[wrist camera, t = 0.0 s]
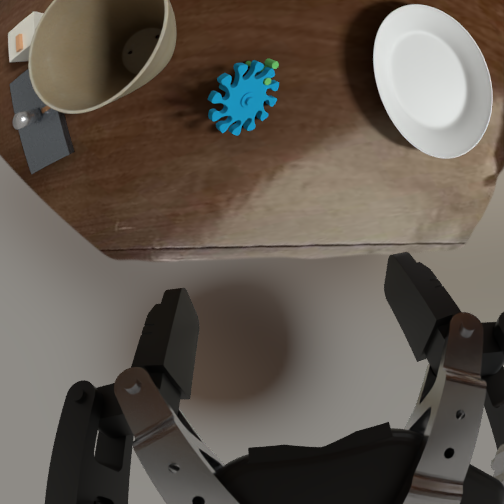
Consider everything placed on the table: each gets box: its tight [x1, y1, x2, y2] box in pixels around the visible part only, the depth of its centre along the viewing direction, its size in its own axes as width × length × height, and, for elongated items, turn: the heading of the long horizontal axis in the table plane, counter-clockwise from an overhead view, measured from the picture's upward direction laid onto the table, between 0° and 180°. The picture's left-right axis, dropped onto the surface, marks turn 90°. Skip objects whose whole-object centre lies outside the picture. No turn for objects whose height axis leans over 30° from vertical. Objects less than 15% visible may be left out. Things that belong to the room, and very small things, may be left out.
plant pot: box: [28, 0, 176, 114], centre depth 20 cm, size 15×15×16 cm
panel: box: [10, 69, 75, 174], centre depth 26 cm, size 18×10×6 cm, turn 10°
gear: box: [208, 59, 279, 135], centre depth 29 cm, size 11×6×10 cm
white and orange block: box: [8, 12, 44, 62], centre depth 18 cm, size 6×6×7 cm
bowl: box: [373, 4, 492, 158], centre depth 26 cm, size 25×25×4 cm
